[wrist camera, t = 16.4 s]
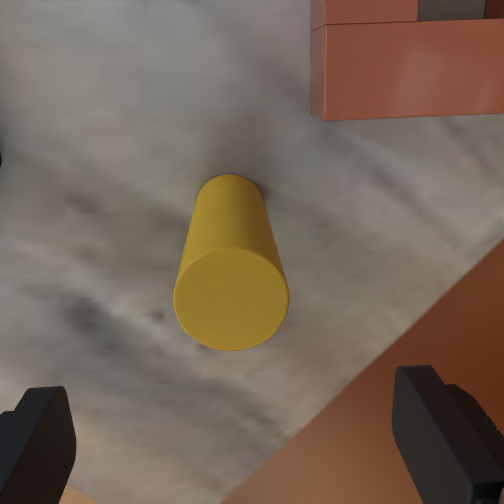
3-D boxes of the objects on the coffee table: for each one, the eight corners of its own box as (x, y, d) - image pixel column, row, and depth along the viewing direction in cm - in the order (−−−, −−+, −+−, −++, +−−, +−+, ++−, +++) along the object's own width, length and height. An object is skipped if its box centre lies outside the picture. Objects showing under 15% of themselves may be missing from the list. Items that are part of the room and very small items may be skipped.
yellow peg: (192, 175, 29) (167, 250, 16) (262, 172, 29) (288, 244, 17) (198, 241, 30) (178, 355, 18) (264, 238, 30) (290, 348, 18)
